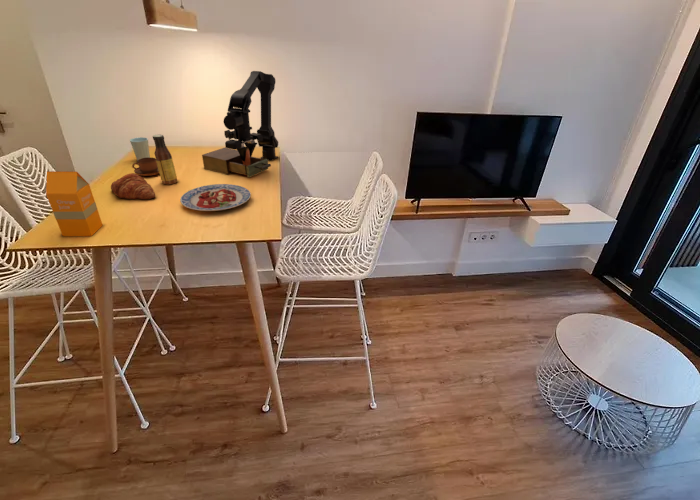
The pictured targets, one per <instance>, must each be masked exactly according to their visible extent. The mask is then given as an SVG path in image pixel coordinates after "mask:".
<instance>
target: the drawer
mask: <svg viewBox="0 0 700 500" xmlns="http://www.w3.org/2000/svg"><path fill="white" fill-rule="evenodd" d="M250 160H251V165H249V166H246V165H243V160H242V158H241V157H239V158H236V159H233V160H230V161H228V162H227V163H228V170H229V171H231V172H233V173H236V174H240V175H245V176H247V178H251V177H253V176H255V175H256V176H257V175H258V174H261V173H263V172H265V171H268V170H269V168H270V167H272V164H271V163H269V160H268V159H261V157H255V156H251V159H250Z"/></svg>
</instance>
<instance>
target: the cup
mask: <svg viewBox="0 0 700 500" xmlns="http://www.w3.org/2000/svg"><path fill="white" fill-rule="evenodd" d="M129 143H130V145H131V147H132V150H133V152H134V155H135V158H136V161H137V162H138V160H139V159H142V158H148V157H151V155H150V145H149V138H147V137H142V136H141V137H133V138H130V139H129Z"/></svg>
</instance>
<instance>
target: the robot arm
mask: <svg viewBox="0 0 700 500" xmlns="http://www.w3.org/2000/svg"><path fill="white" fill-rule="evenodd" d="M275 86H276V77H275V76H274V75H273V74H272V73H265V72H263V71H260V70H251V71H250V74H249V77H248V78H247V79H246V80H245V82H244V83H243V85H242V87H241V88H240V89H238V90H235V91H234V92H232V94H231V95H230V98H229V103H228V107H227V112H226V115H225V117H224V118H223V125H224V127H225V128H226V129H227V130H224V133H223V134H224V137H225V138H226V139H228V140H225V142H224V146H225V148H229V149H234V150H237V151H238V152H239V154H240V156H241V158H242V160H243V161H245V158H246V148H249V150H250V159H251V157H253V153H254V150H255V149H256V147H257V145H258V147H261V148H262V149H261V153H262V157H261V156H260V159H263V160H264V159H268V162H270V161H274V160H276V159H278V158H279V156H277V155H276V149H277V148H279V140H278V139H277V137H276V136H275V135H276V134H275V130H274V129H273V126H272V94H273V92H274V91H275V88H276V87H275ZM256 90H258V91H259V94H260V127H259V128H258V129H257V130H256V132H251V131H252V130H253V127H252V126H251V123H250V113H251V109H250V106H251V104H252V96H253V95H254V93H255V91H256ZM255 140H256V141H257V142H256V141H255Z"/></svg>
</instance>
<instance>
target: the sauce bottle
mask: <svg viewBox="0 0 700 500" xmlns="http://www.w3.org/2000/svg"><path fill="white" fill-rule="evenodd" d="M152 140H153V141H154V146H155V149H154V158H155V159H156V162H157V166H158V170H159V177H160V181H161V182H162V184H163V185H174V184H176V183H177V182H178V175H177V172H176V168H175V164H174V159H173V156H172V154H171V151H170V150H169V149H168V147H167V144H166V142H165V137H164V134H160V133H159V134H158V133H157V134H153V135H152Z"/></svg>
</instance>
